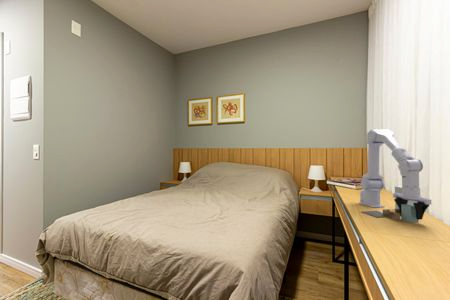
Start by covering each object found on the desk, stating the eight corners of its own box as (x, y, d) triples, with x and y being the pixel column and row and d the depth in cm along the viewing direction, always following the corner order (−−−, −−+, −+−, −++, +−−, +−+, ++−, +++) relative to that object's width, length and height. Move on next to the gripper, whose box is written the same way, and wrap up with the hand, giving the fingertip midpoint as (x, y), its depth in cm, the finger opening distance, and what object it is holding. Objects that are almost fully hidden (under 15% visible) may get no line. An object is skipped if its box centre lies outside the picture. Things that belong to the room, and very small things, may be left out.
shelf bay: (382, 215, 99) (382, 209, 99) (400, 214, 101) (400, 208, 101) (398, 220, 92) (398, 214, 92) (416, 219, 93) (416, 212, 93)
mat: (360, 212, 105) (360, 211, 105) (376, 211, 107) (376, 210, 107) (376, 217, 96) (376, 216, 96) (392, 216, 98) (392, 215, 98)
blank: (401, 219, 93) (401, 204, 93) (408, 219, 94) (408, 203, 94) (411, 222, 89) (410, 206, 89) (418, 222, 90) (418, 206, 90)
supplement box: (421, 213, 103) (421, 188, 103) (406, 213, 103) (406, 188, 103) (408, 209, 110) (408, 185, 111) (394, 209, 111) (394, 185, 111)
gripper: (387, 184, 98) (387, 212, 98) (421, 189, 83) (421, 222, 83) (399, 183, 99) (400, 211, 99) (435, 188, 85) (435, 221, 84)
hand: (411, 216), depth 91 cm, fingers open, 6 cm apart
